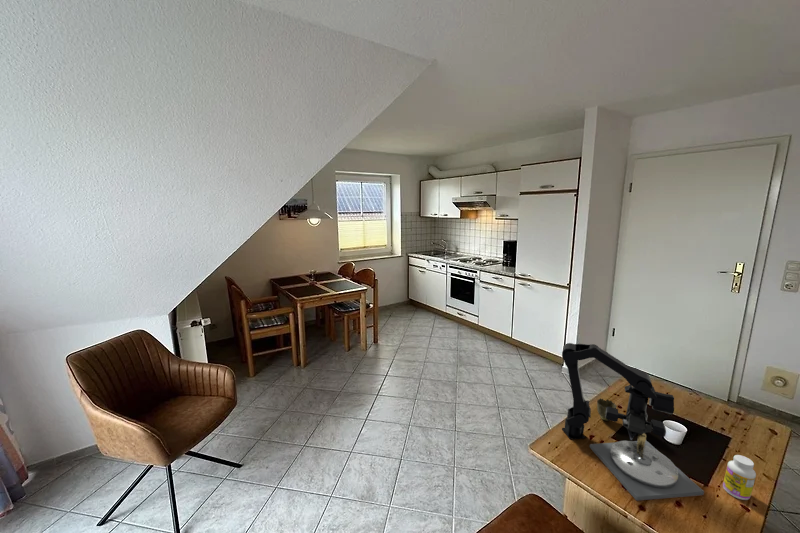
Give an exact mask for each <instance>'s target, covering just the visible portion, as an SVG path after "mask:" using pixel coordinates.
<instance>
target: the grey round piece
mask: <svg viewBox="0 0 800 533" xmlns="http://www.w3.org/2000/svg"><path fill="white" fill-rule="evenodd" d="M636 441H637V442H633V440H619V441H616V443H614V442H613V443H614V444H613V445H612V447H611V452H610V456H611V459H612V461H613V463H614V464H615V465H616V467H617V468H618V469H619V470H620V471H622V472H623V473H624V474H626V475H627V476H628V477H630V478H632V479H634V480H635V481H638V482H640V483H642V484H645V485H648V486H651V487H656V488H670V487H672V486H674V485H675V484H676V483H677V480H678V470H677V468H678V467H677V466H676V465H675V464H674V462H673V461H672V460H671V459H670V458H668V457H667V456H666V455H665V454H663V453H662V452H660V451H659V450H658V449H657V450H658V451H657V450H655V449H656V448H655V449H653V448H651V447H649V446H647V445H645V441H647V433H646V432H645V433H643V434H638V435H637V440H636ZM676 467H677V468H676Z"/></svg>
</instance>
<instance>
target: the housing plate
mask: <svg viewBox="0 0 800 533" xmlns="http://www.w3.org/2000/svg"><path fill="white" fill-rule="evenodd" d="M632 441H633V440H632ZM616 442H617V441H616ZM616 442H602V443H590V444H589V448H590V449H591V450H592V452H593V453H594V454H595V455H596V456H597V457H598V458H599V460H600V461H601V462H602V463H603V465H605V467H606V468H607V469H608V470H609V471H610V472H611V473H612V475H613V476H614V477H615V478H616V479H617V480H618V481H619V482H620V484H621V485H622V486H623V487H624V488H625V489H626V491H628V493H629V494H630V496H632V497H633V498H634V500H635V501H637V502H638V501H646V500H647V501H649V500H650V501H651V500H662V499H673V498H685V497H696V496H704V494H705V490H703V489H702V488H701V487H700V486H699V485H698V484H697V483H695V481H693V480H692V479H691V478H689V476H687V475H686V474H685V473H684V472H683V471H682V470H681V469H680V468H679V467H677V466H676V468H677V470H678V480H677V483H676V484H675V485H674V486H672V487H670V488H656V487H651V486H648V485H645V484H642V483H640V482H638V481H635V480H634V479H632V478H630V477H628V476H627V475H626V474H624V473H623V472H622V471H620V470H619V469H618V468H617V467H616V465H615V464H614V463H613V461H612V459H611V456H610V452H611V447H612V445H613V444H614V443H616ZM633 442H637V440H634V441H633ZM645 445H647V446H649V447H651V448H653V449H655V450H657V451H659V450H658V449H657V448H655V446H653V445H652V444H651V443H650V442H649V441H647V440H646V441H645Z"/></svg>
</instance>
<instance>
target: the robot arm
mask: <svg viewBox="0 0 800 533" xmlns="http://www.w3.org/2000/svg"><path fill="white" fill-rule="evenodd" d="M561 358H562V360H563V362H564V364H565V367H566V368H567V372H568V376H569V377H568V378H569V382H570V388H571V394H572V398H573V402H572V404H573V405H572V407H570V408H568V409H567V415H566V416H567V417H566V418H565V419H564V427H561V430H562V431H563V432H564V434H566V435H565V436H567V437H568V438H569V440H579V439H580V440H581V439H583V440H584V439H585V438H586V436H584V432H585V424H588V422H589V421H590V418H591V416H592V415H591V414H592V413H591V412H592V409H591V408H592V407H590V400H586V399H585V396H584V392H583V388H582V380H581V377H580V376H581V375H580V370H579V361H583V360H587V359H595V360H597V361H598V362H600V363H602V364H603V365H605V366H606V367H608V368H609V369H611V370H612V371H614V372H616V373H617V374H618V375H620V376H621V377H623V378H624V379H625V380H626V381H627V383H628V384H629V385H625V386H624V391H625V393H627V394H629V397H628V403H627V407H626V413H625V414H624V413H620V412H619V409H618V408H617V407H616V408H612V407H609V406H608V407H606V419H607V420H608V421H610V422H614V423H616V422H618V421H619V419H620V420H621V421H622V426H623V427H625V428H626V430H627V432H628V436H629V438H628V439H629V441H633V440H634V438H635V437H636V436H638V435H637V434H638V433H639V434H643V433H644V432H645V434H649V433H651V432H653V434H654V435H656V436H659V437H664V438H665V437H666V434H667V429H666V425H665V423H664V422H663V421H660V420H656V419H653V418H651V419H650V421H648V419H647V420H646V419H645V413H647V407H648V404H649V406H650V407H651V409H652V410H654V411H658V412H661V413H665V414H669V415H673V414H674V412H675V396H674V395H673V394H669V393H662V392H658V391H656V390H655V387H654V386H653V384H652V380H651V378H650V375H649V374H648V373H647V372H645V371H643V370H641V369H639V368H636V367H632V366H630V365H628V364H626V363H624V362H623V361H621V360H619V359H618V358H616V357H614V356H613V355H611V354H610V353H608V352H607V351H605V350H604V349H602V348H601V347H599V346H598V345H597V344H592V343H591V344H584V343H572V342H568V343H565V344H564V346H563V347H562V352H561Z"/></svg>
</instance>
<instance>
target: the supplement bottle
mask: <svg viewBox="0 0 800 533" xmlns="http://www.w3.org/2000/svg"><path fill="white" fill-rule="evenodd" d="M732 459H733V460H729V461H728V462H727V466H726V470H725V475H724V477H723V482H722V488H723V489H724V490H725V492H726V493H727V494H729V495H731V496H732V497H734V498H735V499H738V500H743V501H748V500H750V498H751V496H752V493H753V488H754V484H755V481H756V477H757V473H756V471H755V470H754V466H755V463H754V462H753V460H752V459H750V458H748V457H746V456H744V455H741V454H735V455H734V456H733V458H732Z"/></svg>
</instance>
